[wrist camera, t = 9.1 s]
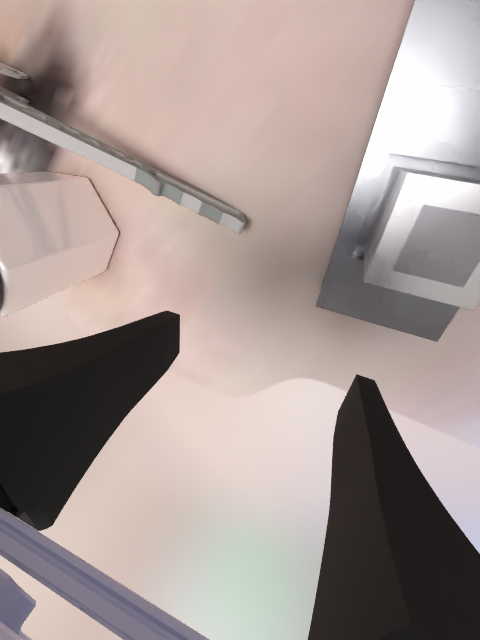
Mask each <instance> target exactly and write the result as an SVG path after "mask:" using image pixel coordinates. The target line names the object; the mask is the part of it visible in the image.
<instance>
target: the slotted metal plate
mask: <svg viewBox="0 0 480 640" xmlns="http://www.w3.org/2000/svg"><path fill="white" fill-rule="evenodd" d="M393 166H396V167H402V168H409V169H415V170H421V171H427V172H433V173H440V174H446V175H452V176H458V177H465V178H471V179H477V180H480V0H415V2H414V5H413V8H412V11H411V14H410V17H409V20H408V23H407V26H406V29H405V33H404V36H403V39H402V42H401V45H400V48H399V51H398V54H397V57H396V60H395V63H394V67H393V70H392V73H391V76H390V79H389V82H388V85H387V88H386V91H385V94H384V97H383V100H382V104H381V107H380V110H379V113H378V116H377V119H376V122H375V125H374V128H373V131H372V134H371V138H370V141H369V144H368V147H367V150H366V153H365V156H364V159H363V162H362V165H361V168H360V172H359V175H358V178H357V181H356V184H355V187H354V190H353V193H352V196H351V199H350V202H349V205H348V209H347V212H346V215H345V218H344V221H343V224H342V227H341V230H340V233H339V236H338V239H337V243H336V246H335V249H334V252H333V255H332V258H331V261H330V264H329V267H328V270H327V273H326V277H325V280H324V283H323V286H322V289H321V292H320V295H319V298H318V301H317V304H316V307H320V308H323V309H327V310H330V311H333V312H337V313H340V314H344V315H347V316H351V317H354V318H357V319H361V320H364V321H368V322H371V323H375V324H378V325H382V326H385V327H388V328H392V329H395V330H399V331H402V332H406V333H409V334H413V335H416V336H419V337H423V338H426V339H430V340H433V341H438V340H439V338H440V337H441V335H442V334H443V332H444V331H445V329H446V328H447V326H448V325H449V323H450V321H451V320H452V318H453V317H454V315H455V314H456V312H457V311H458V309H459V308H460V307H458V306H454V305H450V304H446V303H442V302H439V301H435V300H431V299H427V298H423V297H419V296H415V295H412V294H408V293H404V292H400V291H396V290H392V289H388V288H385V287H381V286H377V285H373V284H369V283H365V282H364V243H365V240H366V237H367V235H368V232H369V229H370V227H371V224H372V222H373V219H374V216H375V214H376V211H377V208H378V206H379V203H380V201H381V198H382V195H383V193H384V190H385V187H386V185H387V182H388V179H389V177H390V174H391V172H392V169H393Z"/></svg>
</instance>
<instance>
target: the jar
mask: <svg viewBox="0 0 480 640" xmlns="http://www.w3.org/2000/svg"><path fill="white" fill-rule="evenodd" d="M118 235H119V232H118V230H117V228H116V226H115V224H114V223H113V221H112V219H111V217H110V216H109V214H108V212H107V210H106V208H105V207H104V205H103V203H102V201H101V200H100V198H99V196H98V194H97V193H96V191H95V189H94V187H93V185H92V184H91V182H90V180H89V179H88V178H86V177H79V176H73V175H66V174H60V173H53V172H47V171H40V172H23V173H5V174H0V316H4V317H5V316H8V315H9V314H12V313H14V312H16V311H19V310H21V309H23V308H25V307H27V306H30V305H32V304H34V303H36V302H38V301H41V300H43V299H45V298H47V297H49V296H52V295H54V294H56V293H58V292H60V291H62V290H65V289H67V288H69V287H71V286H74V285H76V284H78V283H80V282H82V281H85V280H87V279H89V278H91V277H93V276H96V275H98V274H100V273H102V272H104V271H106V269H107V266H108V263H109V260H110V258H111V255H112V252H113V249H114V246H115V243H116V241H117V238H118Z"/></svg>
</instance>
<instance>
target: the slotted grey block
mask: <svg viewBox="0 0 480 640" xmlns="http://www.w3.org/2000/svg"><path fill="white" fill-rule="evenodd" d="M364 282H365V283H369V284H373V285H377V286H381V287H385V288H388V289H392V290H396V291H400V292H404V293H408V294H412V295H415V296H419V297H423V298H427V299H431V300H435V301H439V302H442V303H446V304H450V305H454V306H458V307H462V308H466V309H469V310H474V309H475V307H476V306H477V304H478V303H479V301H480V180H477V179H471V178H465V177H458V176H452V175H446V174H440V173H433V172H427V171H421V170H415V169H409V168H402V167H396V166H393V169H392V172H391V174H390V177H389V179H388V182H387V185H386V187H385V190H384V193H383V195H382V198H381V201H380V203H379V206H378V208H377V211H376V214H375V216H374V219H373V222H372V224H371V227H370V229H369V232H368V235H367V237H366V240H365V243H364Z"/></svg>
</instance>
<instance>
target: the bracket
mask: <svg viewBox="0 0 480 640" xmlns="http://www.w3.org/2000/svg"><path fill="white" fill-rule="evenodd" d="M16 73H17V74H16ZM0 74H4V75H7V76H11V77H14V78H17V79H29V76H28V75H26V74H25V73H23V72H21V71H19V70H17V69H14V68H12V67H10V66H8V65H6V64H4V63H2V62H0ZM17 99H20V100H17ZM26 104H30V101H29V100H27V99H25V98H24V97H21V96H19V95H17V94H15V93H12V92H10V91H8V90H6V89H3V88H1V87H0V118H1V119H3V120H5V121H7V122H9V123H11V124H14V125H16V126H18V127H20V128H22V129H24V130H26V131H29V132H31V133H33V134H35V135H37V136H39V137H41V138H43V139H46V140H48V141H50V142H52V143H54V144H56V145H58V146H60V147H63V148H65V149H67V150H69V151H71V152H73V153H75V154H78V155H80V156H82V157H84V158H86V159H88V160H90V161H92V162H95V163H97V164H99V165H101V166H103V167H105V168H107V169H109V170H112V171H114V172H116V173H118V174H120V175H122V176H124V177H127V178H129V179H131V180H133V181H135V182H137V183H139V184H141V185H142V186H144V187H145V188H147V189H148V190H149V191H150V192H151V193H152V194H154V195H155V196H164V197H167V198H169V199H171V200H172V201H174V202H175V203H177V204H179V205H181V206H184V207H186V208H188V209H190V210H192V211H194V212H195V213H197V214H199V215H201V216H204V217H206V218H208V219H210V220H212V221H214V222H216V223H217V224H219V225H222V226H225V227H227V228H229V229H231V230H232V231H234V232H235V233H236V234H241V232H242V229H243V227H244V225H245V223H246V219H245V214H243V213H242V212H240V211H238V210H237V209H235V208H233V207H231V206H229V205H227V204H225V203H223V202H221V201H219V200H217V199H215V198H213V197H211V196H209V195H207V194H205V193H203V192H201V191H199V190H197V189H195V188H193V187H191V186H189V185H187V184H185V183H183V182H181V181H179V180H177V179H175V178H173V177H171V176H169V175H167V174H165V173H163V172H161V171H159V170H157V169H155V168H153V167H151V166H149V165H147V164H145V163H143V162H141V161H139V160H137V159H135V158H133V157H131V156H129V155H127V154H125V153H123V152H121V151H119V150H117V149H115V148H113V147H111V146H109V145H107V144H105V143H103V142H101V141H99V140H96V139H94V138H92V137H90V136H88V135H86V134H84V133H82V132H80V131H78V130H76V129H74V128H72V127H70V126H68V125H66V124H64V123H62V122H60V121H58V120H56V119H54V118H52V117H50V116H48V115H46V114H44V113H42V112H40V111H38V110H36V109H34V108H32V107H30V106H28V105H26Z"/></svg>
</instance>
